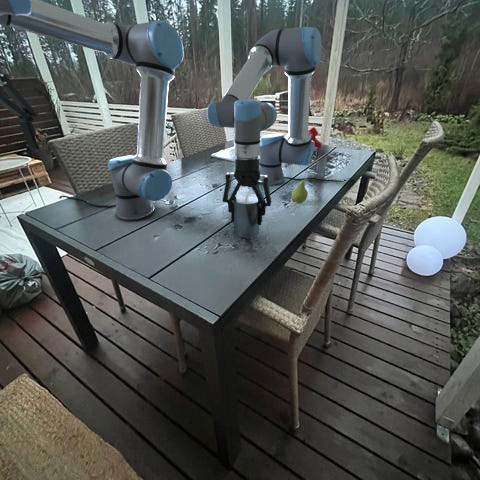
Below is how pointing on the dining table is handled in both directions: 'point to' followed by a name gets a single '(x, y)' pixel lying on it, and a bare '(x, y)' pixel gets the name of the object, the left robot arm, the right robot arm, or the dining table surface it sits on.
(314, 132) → the toy gun
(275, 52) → the right robot arm
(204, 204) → the dining table surface
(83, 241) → the dining table surface
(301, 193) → the fruit
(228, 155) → the relief map
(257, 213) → the tin
